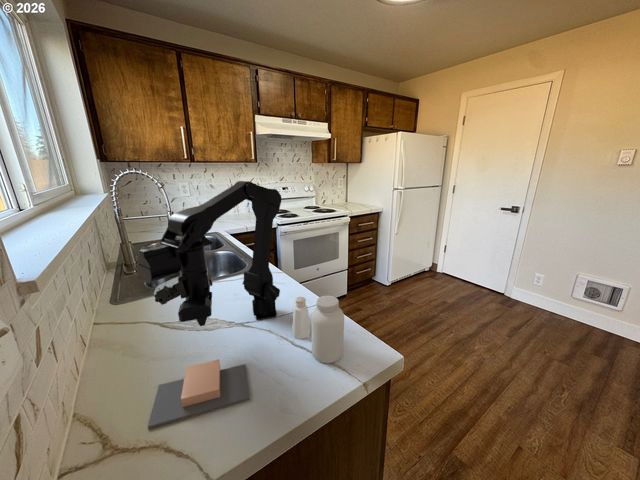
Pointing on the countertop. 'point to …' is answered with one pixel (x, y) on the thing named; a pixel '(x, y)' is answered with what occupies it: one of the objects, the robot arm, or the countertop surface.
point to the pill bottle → (327, 330)
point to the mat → (171, 407)
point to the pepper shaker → (301, 319)
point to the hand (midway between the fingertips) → (202, 325)
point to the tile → (201, 383)
